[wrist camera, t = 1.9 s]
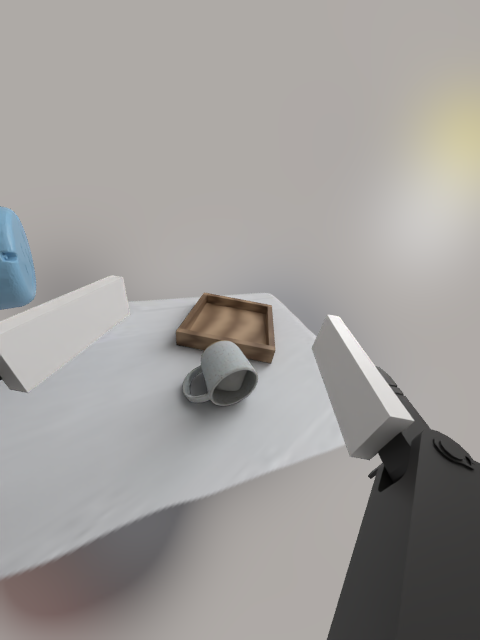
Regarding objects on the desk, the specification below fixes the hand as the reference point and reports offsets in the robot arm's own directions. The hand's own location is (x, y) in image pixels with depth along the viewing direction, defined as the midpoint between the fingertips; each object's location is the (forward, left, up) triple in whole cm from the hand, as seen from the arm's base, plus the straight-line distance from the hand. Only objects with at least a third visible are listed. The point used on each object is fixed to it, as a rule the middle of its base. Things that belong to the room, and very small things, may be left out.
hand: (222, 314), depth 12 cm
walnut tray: (-1, +28, -20) cm, 34 cm away
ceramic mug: (-1, +10, -20) cm, 23 cm away
